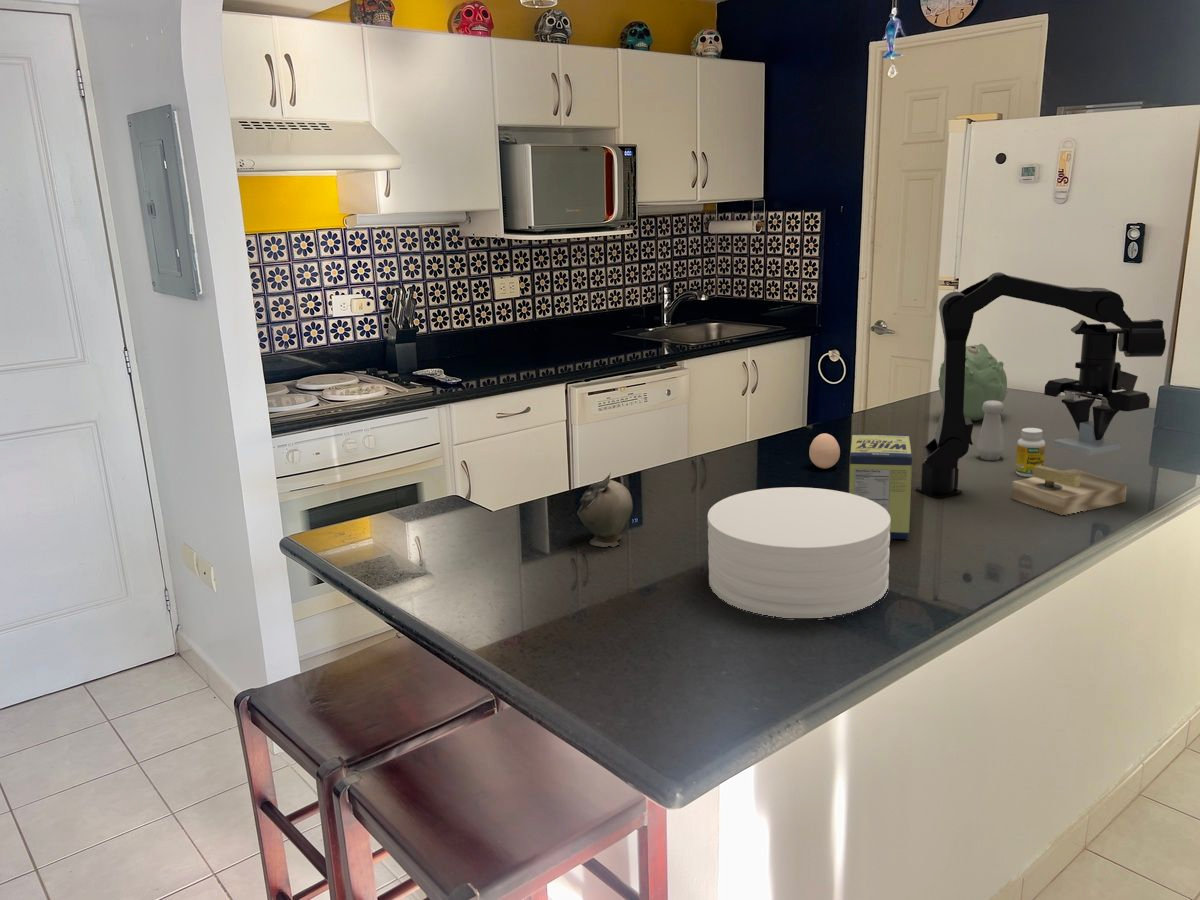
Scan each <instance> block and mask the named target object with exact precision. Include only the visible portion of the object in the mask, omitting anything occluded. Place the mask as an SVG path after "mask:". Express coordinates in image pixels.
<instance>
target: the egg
mask: <svg viewBox="0 0 1200 900" xmlns="http://www.w3.org/2000/svg"><path fill="white" fill-rule="evenodd" d="M840 455H841V449H840V445H839V443H838V441H837V439H836V438H835V437H834V436H833V435H831V434H829V433H827V432H826V433H820V434H818V435H817V436H816V437H814V438H813V440H812V442H811V444H810V445H809V459H810V460H811V463H813V464H814V465H815V466H816V467H817V468H820V469H829V468H831V467H833V466H834V465H836V463H837V462H838V461H839V459H840Z"/></svg>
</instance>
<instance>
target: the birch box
mask: <svg viewBox="0 0 1200 900" xmlns="http://www.w3.org/2000/svg"><path fill="white" fill-rule="evenodd" d="M1064 471H1065V472H1069V473H1074V474H1078V475H1081V476H1080V486H1077V487H1071V486H1067V485H1064V484H1060V483H1056V482H1054V487H1047V486H1045V480H1044V479H1040V478H1037V477H1026V478H1023V479H1019V480H1013V481H1012V486H1011V499H1012V500H1015V501H1018V502H1020V503H1023V504H1026V505H1029V506H1032V507H1035V508H1037V507H1039V508H1038V509H1040V508H1042V509H1041V510H1043V509H1045V510H1044V511H1046V510H1048V511H1047V512H1049V511H1051V512H1054V513H1057V514H1060V515H1066V516H1068V515H1067V514H1070V515H1072V514H1071V513H1075V514H1078V513H1077V512H1079V513H1081V512H1080V511H1083V512H1087V510H1088V511H1091V510H1095V509H1099V508H1104V507H1110V506H1113V505H1118V504H1122V503H1126V501H1127V498H1126V497H1127V490H1128V484H1127V483H1124V482H1120V481H1117V480H1113V479H1110V478H1107V477H1103V476H1100V475H1096V474H1093V473H1091V472H1090V473H1089V472H1086V471H1083V470H1080V469H1076V468H1072V469H1071V468H1070V469H1067V470H1066V469H1065V470H1064ZM1051 512H1050V513H1051ZM1054 513H1053V514H1054ZM1057 514H1056V515H1057ZM1060 515H1059V516H1060Z"/></svg>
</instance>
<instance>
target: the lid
mask: <svg viewBox="0 0 1200 900" xmlns="http://www.w3.org/2000/svg"><path fill="white" fill-rule="evenodd" d="M1121 445H1122V444H1121V442H1119V441H1118V442H1117V441H1114V440H1109V439H1105V435H1104V436H1103V437H1102V439H1101V440H1096V438H1095V433H1094V420H1089V421H1086V422H1081V423H1080V428H1079V431H1078V435H1075V436H1069V437H1065V438H1059V439H1054V440H1053V447H1056V448H1059V449H1063V450H1067V451H1071V452H1075V453H1078V454H1082V455H1084V456H1093V455H1094V456H1095V455H1098V454H1099V455H1100V454H1102V453H1103V454H1104V453H1108V452H1113V451H1119V450H1121Z"/></svg>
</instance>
